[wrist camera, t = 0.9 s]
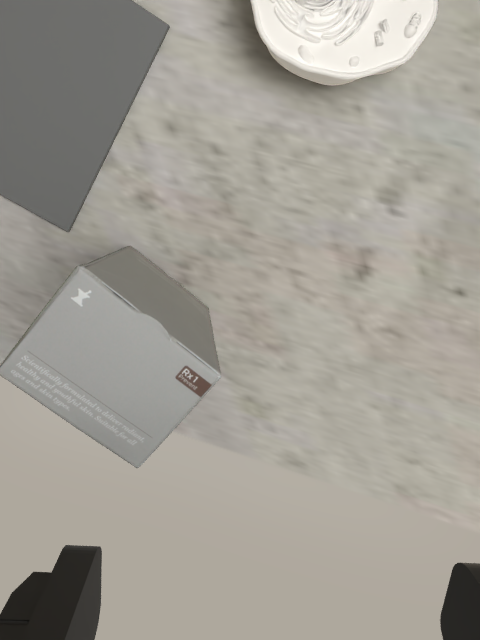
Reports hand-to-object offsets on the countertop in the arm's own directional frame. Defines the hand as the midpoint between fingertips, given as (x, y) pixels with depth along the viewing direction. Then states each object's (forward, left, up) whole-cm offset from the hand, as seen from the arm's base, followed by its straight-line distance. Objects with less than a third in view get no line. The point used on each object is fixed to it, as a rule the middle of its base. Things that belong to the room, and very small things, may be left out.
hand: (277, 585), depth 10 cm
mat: (-8, -20, -26) cm, 34 cm away
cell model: (-22, -5, -26) cm, 34 cm away
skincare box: (+2, -6, -26) cm, 27 cm away
